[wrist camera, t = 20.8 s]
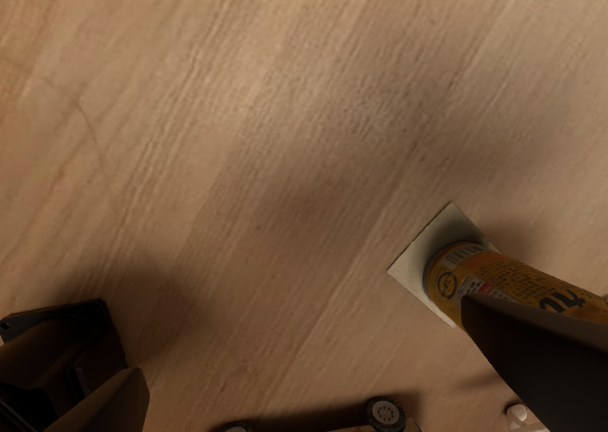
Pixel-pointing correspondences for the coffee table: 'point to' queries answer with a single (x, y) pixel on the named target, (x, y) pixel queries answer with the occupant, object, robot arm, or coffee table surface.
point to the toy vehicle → (379, 415)
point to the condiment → (481, 274)
